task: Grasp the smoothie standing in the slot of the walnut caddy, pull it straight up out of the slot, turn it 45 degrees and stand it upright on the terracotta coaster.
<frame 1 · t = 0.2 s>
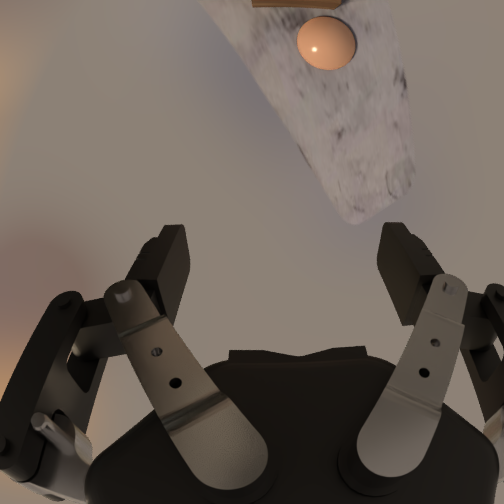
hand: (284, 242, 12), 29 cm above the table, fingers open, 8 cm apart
coaster: (326, 43, 30), on the table
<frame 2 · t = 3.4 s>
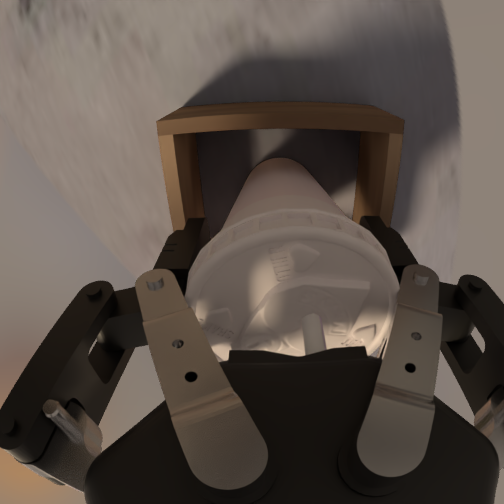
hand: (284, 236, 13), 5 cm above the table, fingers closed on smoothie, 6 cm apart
caddy: (279, 190, 17), on the table
smoothie: (279, 189, 17), resting in caddy, touching gripper
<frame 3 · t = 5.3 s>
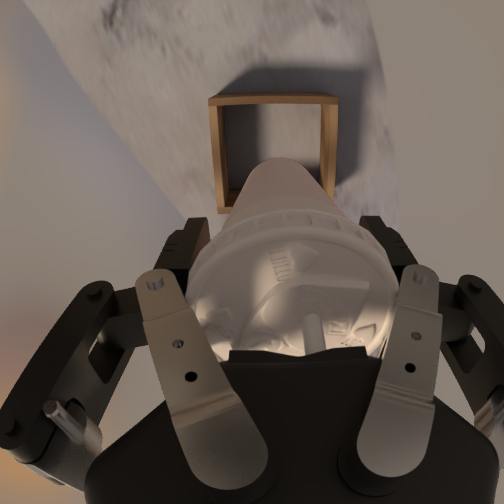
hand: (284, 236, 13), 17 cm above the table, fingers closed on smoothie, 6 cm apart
caddy: (273, 144, 27), on the table
smoothie: (279, 189, 17), point 12 cm above the table, touching gripper
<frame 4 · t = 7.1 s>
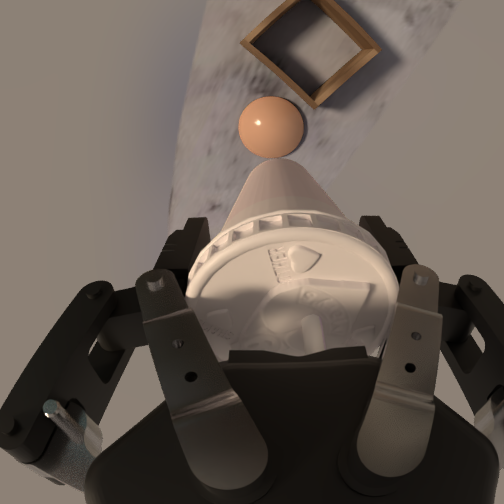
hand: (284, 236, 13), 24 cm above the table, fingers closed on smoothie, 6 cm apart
caddy: (307, 45, 27), on the table
coaster: (271, 126, 32), on the table
smoothie: (279, 189, 17), point 19 cm above the table, touching gripper
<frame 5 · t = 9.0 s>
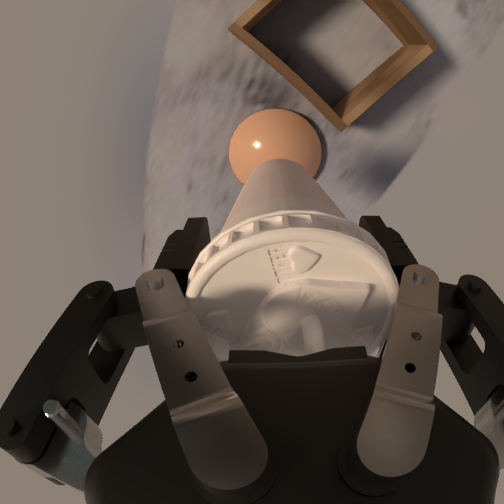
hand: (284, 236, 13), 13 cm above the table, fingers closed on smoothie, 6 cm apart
caddy: (329, 35, 18), on the table
coaster: (275, 152, 23), on the table
smoothie: (279, 189, 17), point 8 cm above the table, touching gripper
when the fingers open (6 cm above the table, at t = 10.8 s): smoothie drops 1 cm, resting on coaster.
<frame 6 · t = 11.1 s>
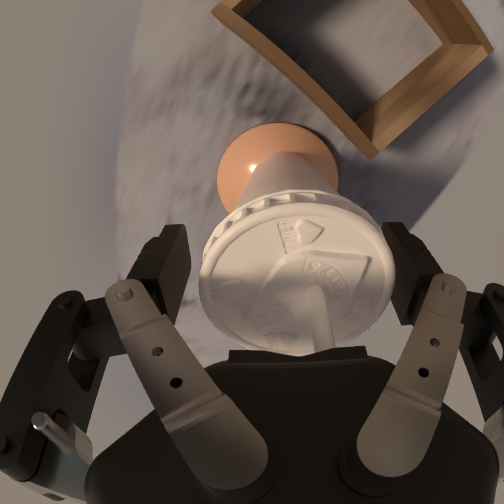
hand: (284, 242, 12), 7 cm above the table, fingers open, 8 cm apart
caddy: (350, 25, 13), on the table
coaster: (278, 180, 18), on the table
smoothie: (283, 180, 18), resting on coaster
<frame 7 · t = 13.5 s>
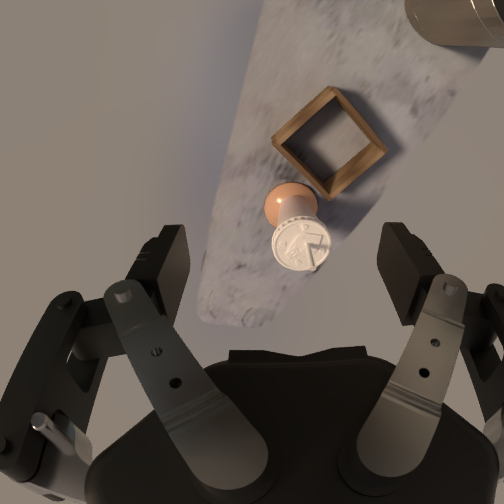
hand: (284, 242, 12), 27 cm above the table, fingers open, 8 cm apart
caddy: (326, 139, 36), on the table
coaster: (291, 206, 41), on the table
smoothie: (293, 207, 41), resting on coaster
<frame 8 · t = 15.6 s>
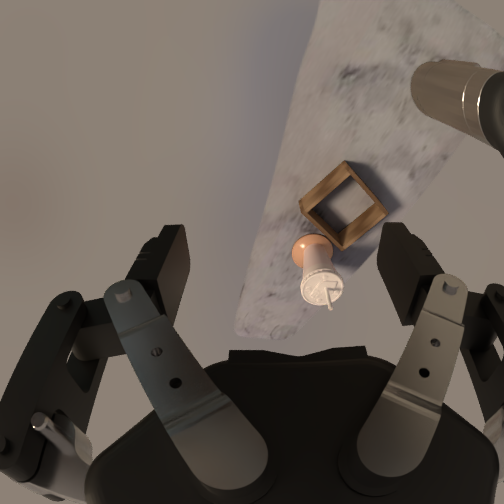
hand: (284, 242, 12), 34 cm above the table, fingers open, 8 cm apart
caddy: (341, 201, 48), on the table
coaster: (312, 251, 53), on the table
smoothie: (314, 252, 53), resting on coaster
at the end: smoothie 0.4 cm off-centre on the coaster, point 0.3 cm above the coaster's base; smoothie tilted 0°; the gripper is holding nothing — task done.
